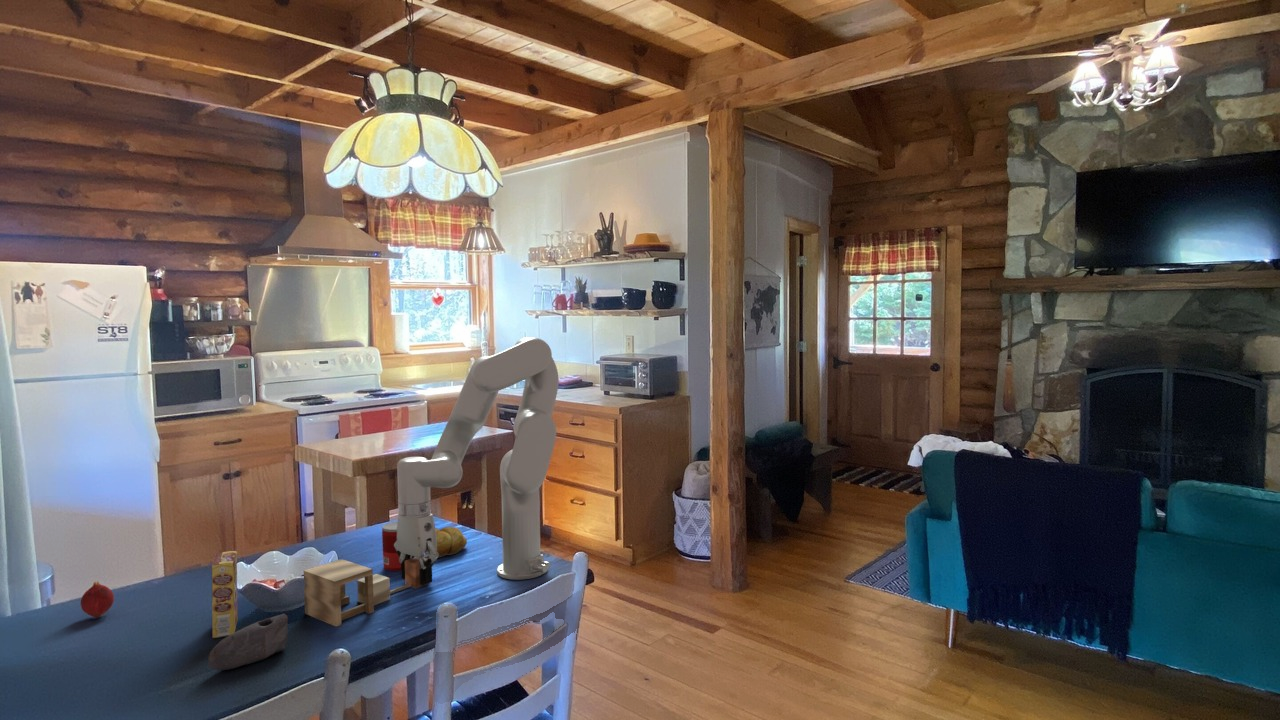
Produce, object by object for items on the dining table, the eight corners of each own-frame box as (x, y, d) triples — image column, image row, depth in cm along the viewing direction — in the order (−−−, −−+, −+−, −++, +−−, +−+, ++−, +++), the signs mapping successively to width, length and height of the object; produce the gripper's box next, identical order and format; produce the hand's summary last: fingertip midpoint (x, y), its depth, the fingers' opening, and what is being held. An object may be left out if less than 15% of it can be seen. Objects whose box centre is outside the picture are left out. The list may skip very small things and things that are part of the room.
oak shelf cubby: (373, 612, 156) (372, 569, 155) (336, 626, 148) (334, 581, 148) (342, 600, 163) (341, 559, 162) (305, 613, 155) (303, 570, 155)
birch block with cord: (430, 583, 173) (430, 559, 172) (371, 606, 159) (370, 580, 159) (417, 579, 175) (417, 556, 175) (358, 601, 162) (357, 576, 162)
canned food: (409, 571, 181) (407, 529, 181) (378, 571, 181) (377, 529, 181) (419, 561, 189) (418, 521, 188) (389, 561, 189) (388, 521, 188)
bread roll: (461, 544, 203) (460, 517, 203) (475, 552, 196) (474, 524, 195) (417, 553, 196) (416, 525, 195) (430, 562, 188) (429, 533, 187)
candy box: (236, 635, 145) (233, 562, 144) (212, 639, 143) (209, 565, 142) (239, 618, 153) (237, 549, 152) (216, 622, 151) (213, 552, 150)
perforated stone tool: (214, 681, 126) (212, 643, 126) (203, 672, 130) (201, 635, 129) (298, 650, 138) (297, 615, 138) (286, 643, 141) (285, 609, 141)
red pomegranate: (120, 614, 156) (118, 579, 156) (91, 624, 151) (89, 588, 150) (105, 610, 158) (103, 575, 158) (75, 620, 153) (73, 584, 153)
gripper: (450, 510, 169) (452, 583, 170) (405, 500, 179) (407, 569, 180) (424, 517, 163) (426, 593, 164) (379, 506, 173) (381, 578, 174)
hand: (416, 579), depth 172 cm, fingers open, 6 cm apart
